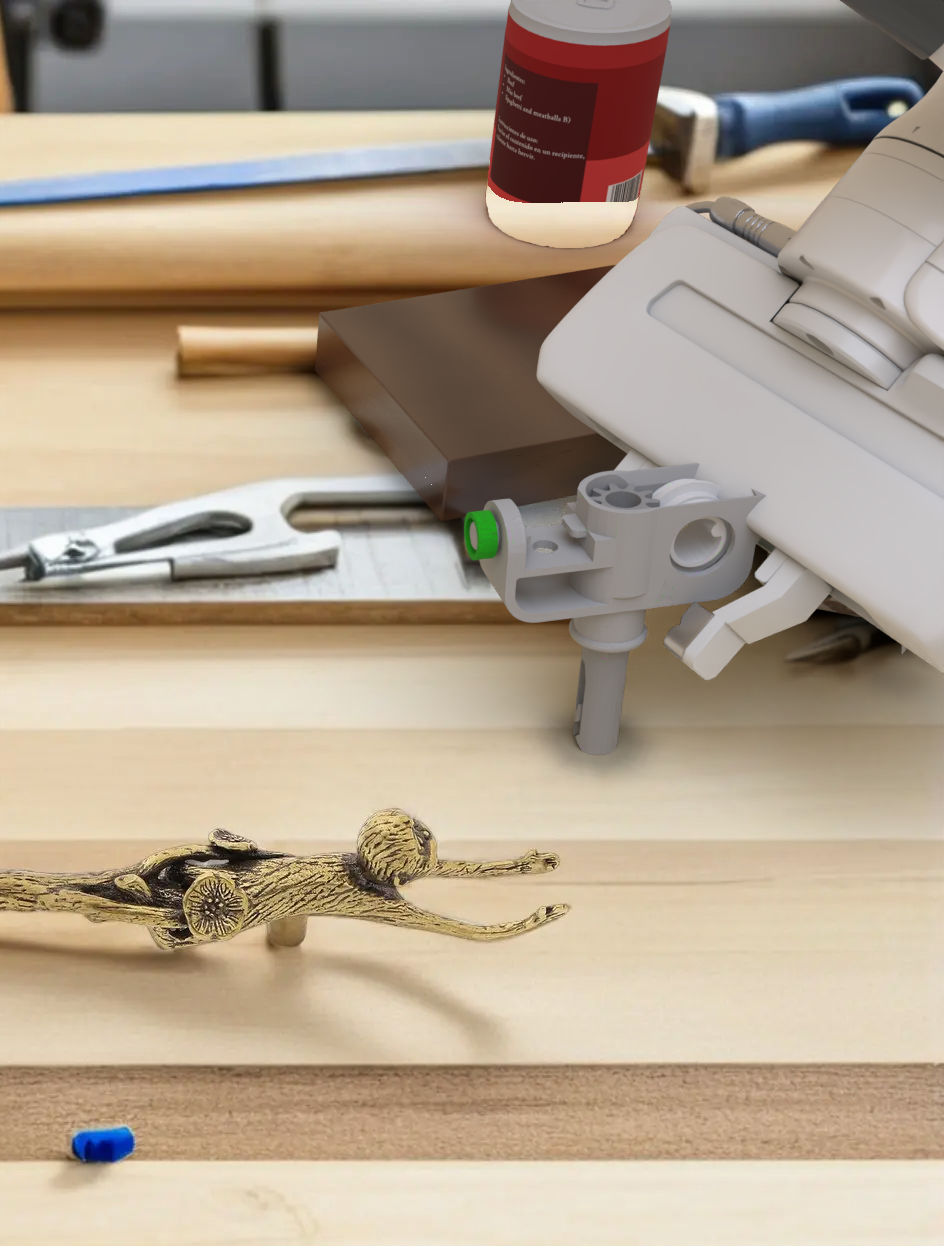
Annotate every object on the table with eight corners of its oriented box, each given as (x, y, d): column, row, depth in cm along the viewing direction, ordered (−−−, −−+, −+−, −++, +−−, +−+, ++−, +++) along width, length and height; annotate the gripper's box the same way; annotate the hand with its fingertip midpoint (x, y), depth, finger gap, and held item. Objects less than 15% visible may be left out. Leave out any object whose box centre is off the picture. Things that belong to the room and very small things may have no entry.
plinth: (628, 319, 98) (638, 260, 96) (781, 458, 89) (797, 396, 87) (313, 372, 94) (318, 312, 92) (440, 525, 84) (448, 461, 82)
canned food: (628, 189, 109) (666, -26, 101) (641, 258, 102) (681, 35, 95) (480, 181, 109) (507, -34, 102) (484, 250, 103) (512, 27, 96)
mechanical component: (443, 739, 74) (459, 487, 68) (715, 703, 76) (754, 452, 70) (468, 786, 72) (488, 530, 66) (749, 748, 73) (793, 493, 67)
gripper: (663, 131, 73) (409, 447, 75) (1144, 389, 59) (816, 761, 62) (734, 224, 77) (492, 518, 80) (1195, 482, 64) (887, 825, 67)
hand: (637, 627), depth 71 cm, fingers closed on mechanical component, 3 cm apart
